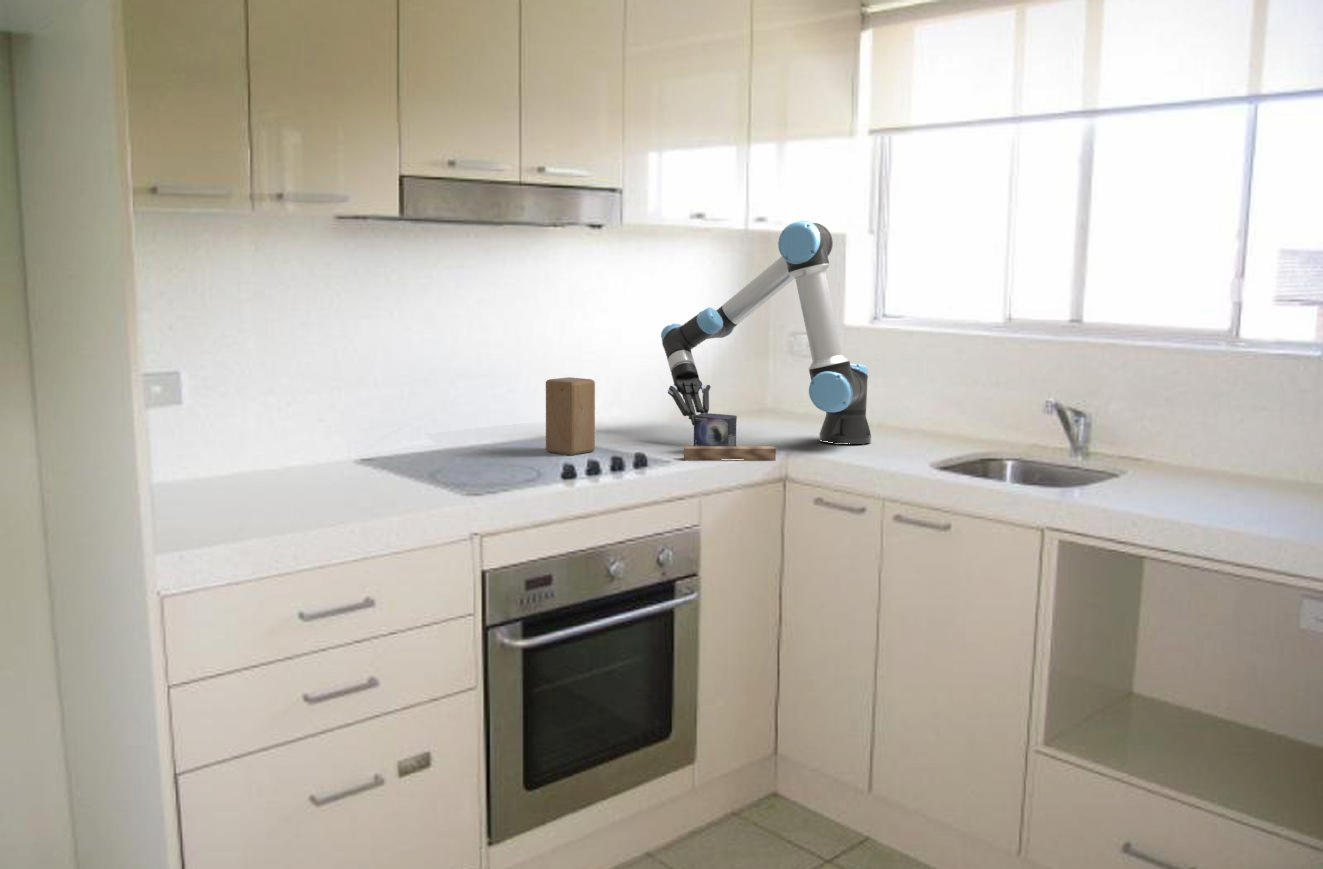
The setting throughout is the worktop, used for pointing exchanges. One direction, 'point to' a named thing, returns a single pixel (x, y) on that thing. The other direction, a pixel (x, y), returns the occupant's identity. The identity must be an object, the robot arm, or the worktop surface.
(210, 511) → the worktop surface
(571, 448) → the wooden block
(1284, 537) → the worktop surface
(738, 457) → the long brown wooden bar
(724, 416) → the small box
